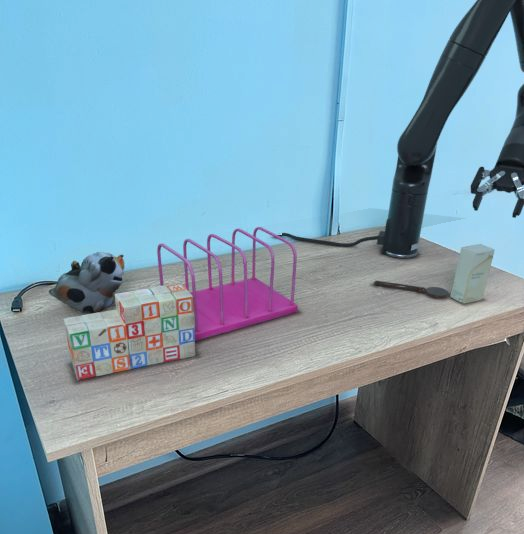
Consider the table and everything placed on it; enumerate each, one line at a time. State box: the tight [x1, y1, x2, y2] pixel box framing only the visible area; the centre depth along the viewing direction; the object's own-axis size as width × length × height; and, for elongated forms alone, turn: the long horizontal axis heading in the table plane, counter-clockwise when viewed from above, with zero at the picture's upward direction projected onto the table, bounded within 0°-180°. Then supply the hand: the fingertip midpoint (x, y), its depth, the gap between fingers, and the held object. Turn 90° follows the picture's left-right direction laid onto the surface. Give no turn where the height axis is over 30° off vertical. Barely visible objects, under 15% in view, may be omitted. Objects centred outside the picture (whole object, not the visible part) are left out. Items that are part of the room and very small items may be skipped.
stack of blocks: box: [63, 283, 197, 381], centre depth 93 cm, size 21×6×12 cm, turn 115°
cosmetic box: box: [450, 243, 496, 305], centre depth 119 cm, size 6×4×12 cm
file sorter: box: [156, 226, 299, 342], centre depth 110 cm, size 17×25×16 cm
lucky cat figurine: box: [48, 251, 125, 314], centre depth 113 cm, size 15×12×14 cm
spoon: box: [373, 280, 449, 300], centre depth 125 cm, size 17×5×1 cm, turn 72°
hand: (494, 212), depth 121 cm, fingers open, 8 cm apart
